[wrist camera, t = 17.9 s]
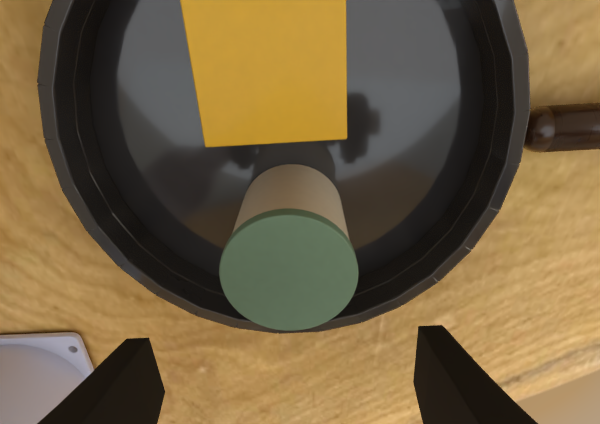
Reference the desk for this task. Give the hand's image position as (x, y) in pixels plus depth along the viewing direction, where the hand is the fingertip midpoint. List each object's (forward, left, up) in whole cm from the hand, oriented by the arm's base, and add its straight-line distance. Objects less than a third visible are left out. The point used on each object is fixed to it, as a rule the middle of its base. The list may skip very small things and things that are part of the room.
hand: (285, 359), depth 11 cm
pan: (+4, 0, -10) cm, 11 cm away
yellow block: (+8, 0, -9) cm, 12 cm away
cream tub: (0, 0, -9) cm, 9 cm away
